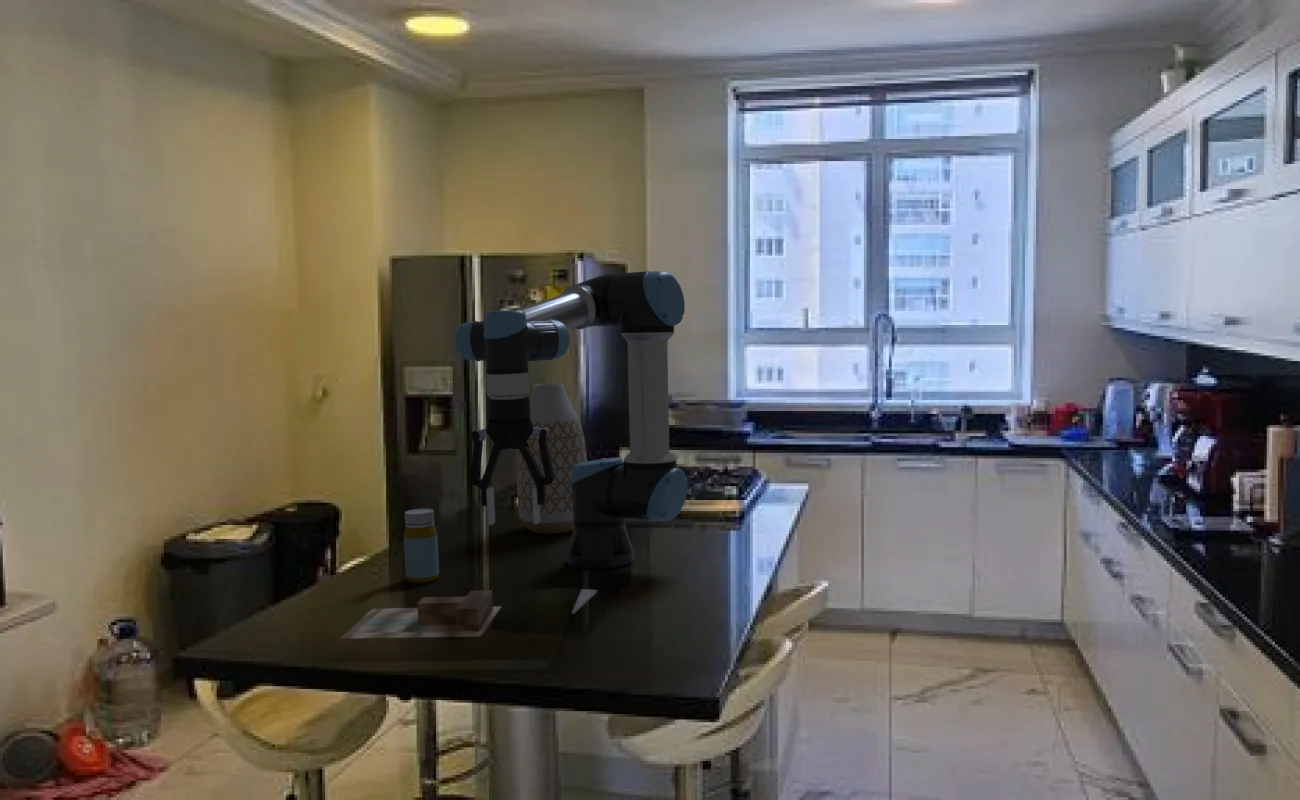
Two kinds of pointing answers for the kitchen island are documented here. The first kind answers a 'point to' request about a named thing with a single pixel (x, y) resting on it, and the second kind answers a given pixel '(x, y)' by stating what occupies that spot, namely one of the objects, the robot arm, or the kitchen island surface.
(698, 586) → the kitchen island surface
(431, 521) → the bottle
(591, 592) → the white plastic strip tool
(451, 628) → the board
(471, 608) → the t block
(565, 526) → the vase
